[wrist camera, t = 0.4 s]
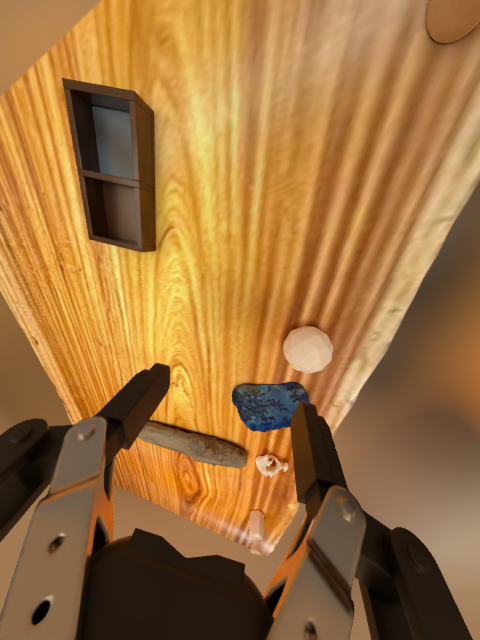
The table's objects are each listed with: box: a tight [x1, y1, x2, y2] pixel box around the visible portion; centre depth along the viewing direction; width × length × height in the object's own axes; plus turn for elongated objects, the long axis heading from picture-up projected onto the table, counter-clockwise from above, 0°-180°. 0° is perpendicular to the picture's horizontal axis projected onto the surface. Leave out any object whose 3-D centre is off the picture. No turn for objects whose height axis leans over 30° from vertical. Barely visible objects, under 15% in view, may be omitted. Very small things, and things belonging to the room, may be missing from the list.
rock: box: [232, 382, 310, 432], centre depth 41 cm, size 15×17×2 cm
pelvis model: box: [256, 454, 288, 478], centre depth 49 cm, size 8×4×7 cm
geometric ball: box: [283, 326, 333, 374], centre depth 30 cm, size 8×8×8 cm
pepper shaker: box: [249, 510, 264, 555], centre depth 62 cm, size 4×4×10 cm
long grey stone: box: [138, 422, 248, 468], centre depth 51 cm, size 35×5×10 cm
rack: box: [62, 78, 156, 252], centre depth 26 cm, size 17×9×4 cm, turn 168°
